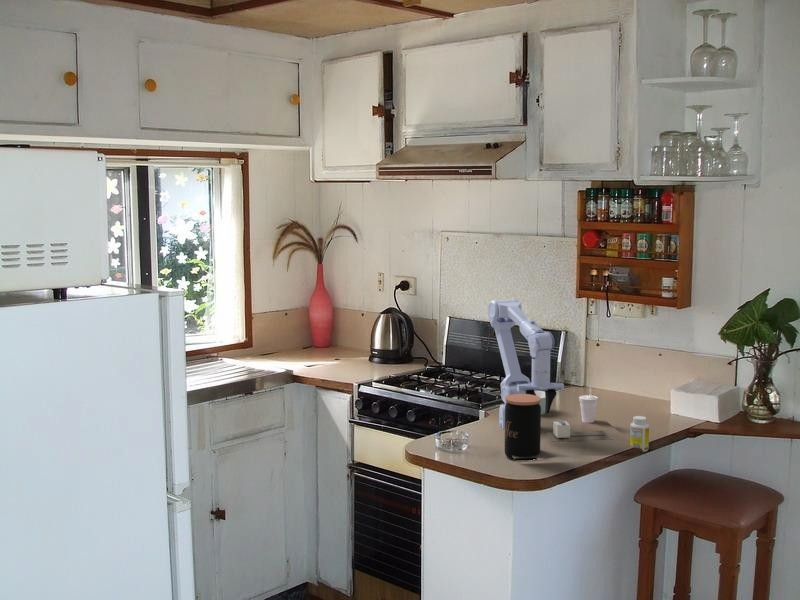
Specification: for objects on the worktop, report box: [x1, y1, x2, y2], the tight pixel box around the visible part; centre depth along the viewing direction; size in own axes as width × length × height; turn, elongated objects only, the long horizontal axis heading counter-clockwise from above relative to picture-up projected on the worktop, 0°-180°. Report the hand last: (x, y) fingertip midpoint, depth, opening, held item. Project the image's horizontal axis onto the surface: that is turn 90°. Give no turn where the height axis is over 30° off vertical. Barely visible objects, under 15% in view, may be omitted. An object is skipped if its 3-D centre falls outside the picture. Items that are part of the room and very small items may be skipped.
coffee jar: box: [504, 394, 542, 461], centre depth 274 cm, size 11×11×18 cm
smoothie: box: [578, 384, 599, 424], centre depth 308 cm, size 6×6×14 cm
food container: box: [534, 391, 547, 416], centre depth 327 cm, size 12×12×6 cm
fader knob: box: [552, 418, 571, 438], centre depth 290 cm, size 4×5×5 cm
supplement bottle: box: [629, 415, 650, 453], centre depth 280 cm, size 6×6×10 cm
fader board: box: [545, 430, 613, 443], centre depth 291 cm, size 19×10×2 cm, turn 96°
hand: (540, 413), depth 289 cm, fingers open, 4 cm apart
